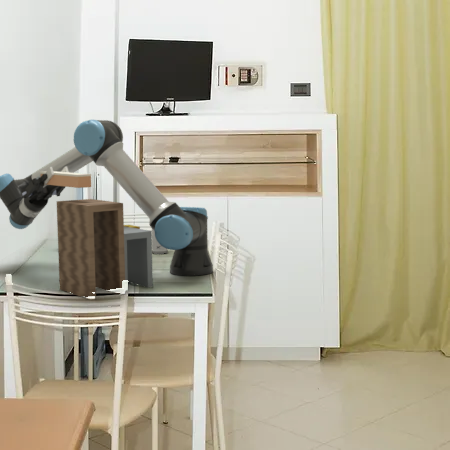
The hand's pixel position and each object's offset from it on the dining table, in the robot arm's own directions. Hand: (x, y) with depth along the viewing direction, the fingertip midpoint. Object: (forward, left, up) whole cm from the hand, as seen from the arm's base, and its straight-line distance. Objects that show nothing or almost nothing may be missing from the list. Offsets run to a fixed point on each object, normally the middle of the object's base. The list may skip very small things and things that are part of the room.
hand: (59, 170), depth 244 cm
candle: (-21, -70, -37) cm, 83 cm away
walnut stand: (-9, +15, -37) cm, 41 cm away
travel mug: (-35, -57, -37) cm, 77 cm away
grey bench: (-19, +5, -37) cm, 42 cm away
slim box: (-2, +3, -5) cm, 6 cm away
